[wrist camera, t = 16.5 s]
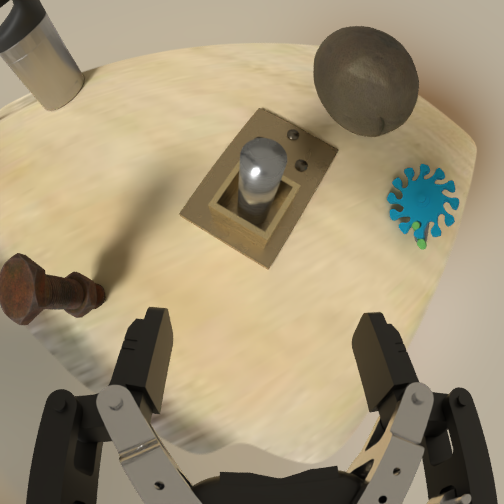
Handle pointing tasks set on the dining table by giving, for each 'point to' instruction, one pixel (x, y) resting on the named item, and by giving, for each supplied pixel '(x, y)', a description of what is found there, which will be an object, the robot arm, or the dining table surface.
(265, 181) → the pin
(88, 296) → the bolt
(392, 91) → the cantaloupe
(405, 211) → the blue lobed toy
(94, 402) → the robot arm
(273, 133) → the hinge leaf
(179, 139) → the dining table surface
